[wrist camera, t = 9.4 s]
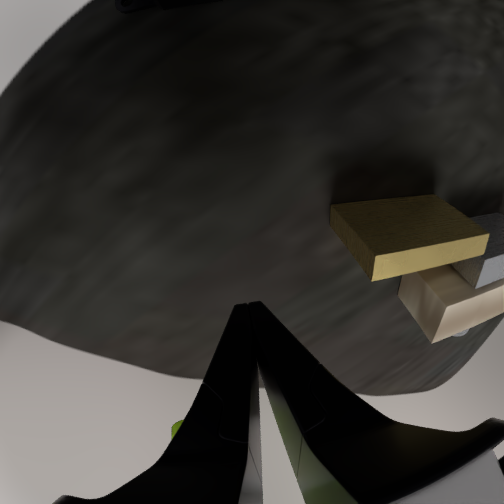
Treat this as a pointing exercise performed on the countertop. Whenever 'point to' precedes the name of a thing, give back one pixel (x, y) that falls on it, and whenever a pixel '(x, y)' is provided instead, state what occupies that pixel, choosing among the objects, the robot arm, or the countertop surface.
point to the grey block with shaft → (485, 255)
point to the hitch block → (448, 301)
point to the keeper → (406, 234)
